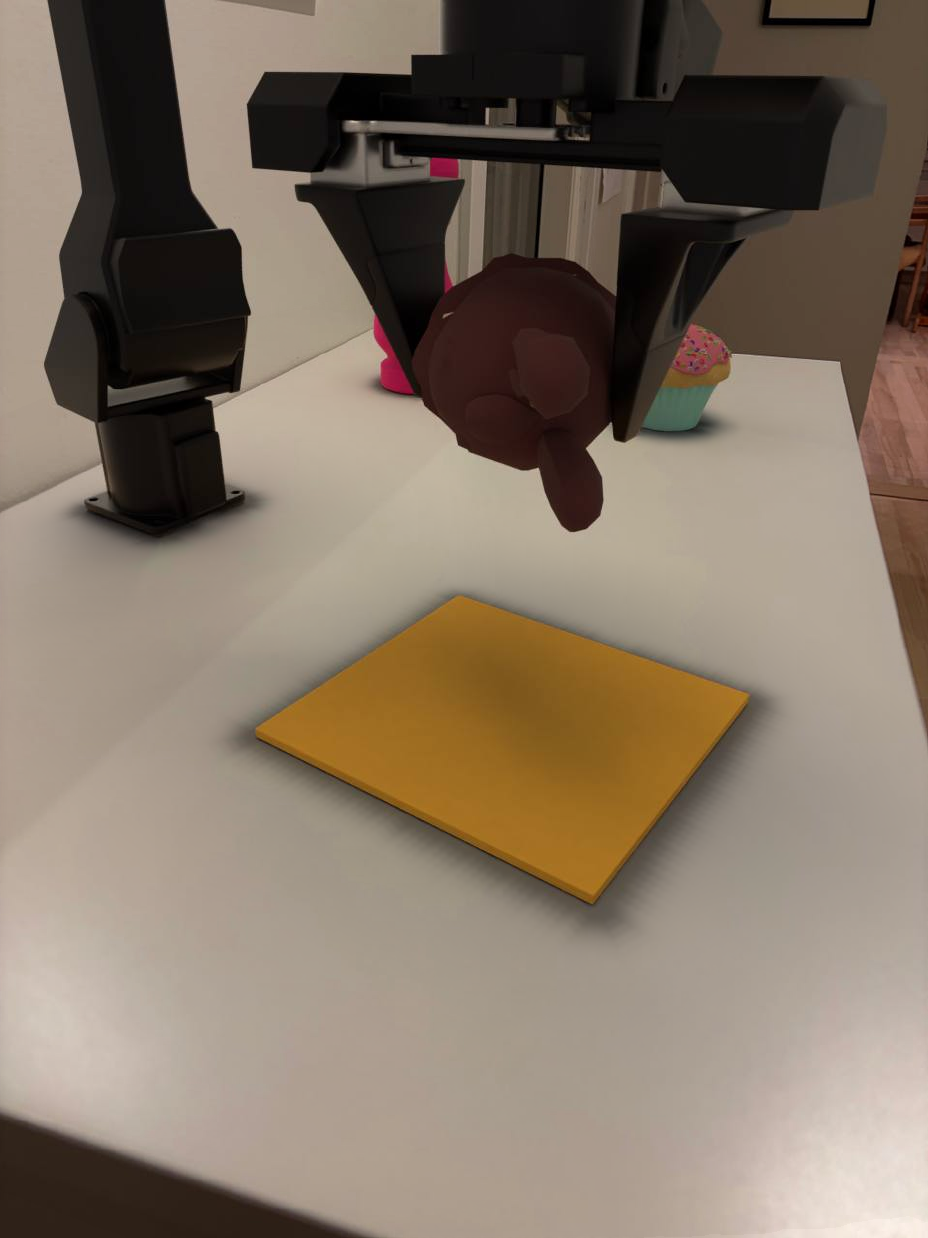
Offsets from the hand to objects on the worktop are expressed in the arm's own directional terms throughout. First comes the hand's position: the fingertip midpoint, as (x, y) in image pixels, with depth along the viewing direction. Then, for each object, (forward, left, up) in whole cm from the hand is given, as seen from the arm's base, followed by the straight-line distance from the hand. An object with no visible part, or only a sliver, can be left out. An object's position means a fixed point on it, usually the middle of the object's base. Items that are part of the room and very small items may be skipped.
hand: (521, 416), depth 32 cm
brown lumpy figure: (0, 0, -2) cm, 2 cm away
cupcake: (-10, +36, -11) cm, 39 cm away
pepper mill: (-30, +33, -11) cm, 46 cm away
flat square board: (+1, -2, -11) cm, 11 cm away
